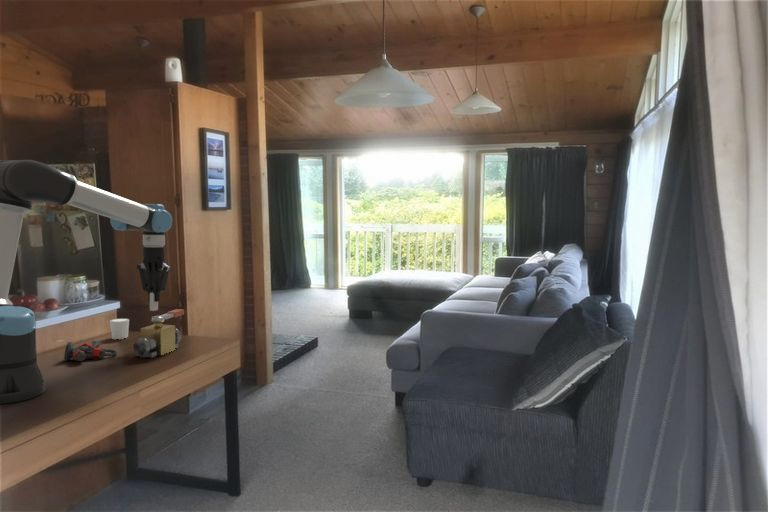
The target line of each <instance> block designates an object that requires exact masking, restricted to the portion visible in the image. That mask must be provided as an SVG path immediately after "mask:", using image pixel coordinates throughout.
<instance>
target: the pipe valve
mask: <svg viewBox="0 0 768 512" xmlns="http://www.w3.org/2000/svg"><path fill="white" fill-rule="evenodd" d="M181 340H182V332H181V331H180V329H178V328H177V327H176V325H172V324H163V322H159V323H154V322H153V324H151V325H146V326H145V327H144V326H143V327H141V328H140V337H139V338H136V340H134V342H133V346H132V349H133V351H134V353H135V354H136V357H137V356H140V357H139V358H145V357H151V358H150V359H154V358H156V357H155V356H157V355H163V356H165V355H167V354H170V353H172V352H175V351H176V349H175V348H177V349H179V342H180V341H181ZM174 350H175V351H174ZM171 351H172V352H171ZM169 352H170V353H169ZM166 353H167V354H166ZM164 354H165V355H164ZM153 357H154V358H153ZM157 357H158V356H157Z"/></svg>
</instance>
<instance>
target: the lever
mask: <svg viewBox="0 0 768 512" xmlns="http://www.w3.org/2000/svg"><path fill="white" fill-rule="evenodd" d="M183 315H185V309H183V308H181V309H180V308H175V309H173V310H170V311H167V312H166V313H164V314H161V315H154V316H151V323H153V324H154V323H159V322H162V323H164V322H165V320H169V319H171V318H177V317H181V316H183Z"/></svg>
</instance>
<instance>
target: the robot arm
mask: <svg viewBox="0 0 768 512" xmlns="http://www.w3.org/2000/svg"><path fill="white" fill-rule="evenodd" d="M34 202H37V203H47V204H53V205H57V206H61V207H64V206H66V205H68V206H71V207H74V208H76V209H77V208H78V209H81V210H84V211H85V212H90V213H93V214H96V215H99V216H102V217H106V218H109V220H110V221H109V222H110V225H111V228H113V230H116V231H122V232H123V231H124V232H125V231H133V232H134V231H136V232H142V245H143V247H142V257H143V259H142V262H141V263H140V264H137V265H136V269H138V272H139V275H140V281H141V285H142V290H143V291H145V292H147V296H148V298H147V300H148V302H149V311H150V312H151V311H152V312H154V311H158V310H159V302H160V299H161V298H160V297H161V296H160V293H162V292H164V291H165V289H166V286H167V280H168V277H169V272H170V270H171V268H172V266H171V265H167V263H166V261H165V257H166V248H165V246H166V233H167V232H168V231H169V230H170V229H171V228H172V225H173V217H172V214H171V213H170V212H169V211H167V210H166V209H165V205H163V204H161V203H160V204H159V203H156V204H155V203H144V204H142V203H140V202H139V203H138V202H137V201H133V200H131V199H128V198H126V197H123V196H120V195H117V194H115V193H111V192H110V191H106V190H104V189H101V188H98V187H96V186H93V185H92V184H91V185H90V184H88V183H84V182H82V181H80V180H77V178H76V177H75V175H74V174H71V173H69V172H65V171H63V170H61V169H58V168H56V167H53V166H51V165H48V164H47V163H43V162H40V161H37V160H32V159H21V160H20V159H17V160H16V159H14V160H11V159H2V160H0V405H3V404H12V403H17V402H23V401H27V400H31V399H34V398H37V397H38V396H40V395H42V394H43V393H45V391H46V382H45V380H44V377H43V375H42V372H41V370H40V368H39V365H38V363H37V362H38V361H37V360H38V359H37V328H36V327H37V323H36V318H35V313H34V311H33V310H32V309H30V308H29V307H28V308H27V307H24V306H19V305H18V306H17V305H16V306H14V304H13V302H12V301H11V300H10V298H9V292H10V287H11V283H12V277H13V272H14V267H15V262H16V258H17V257H16V256H17V251H18V247H19V241H20V236H21V231H22V226H23V221H24V216H25V215H27V214H29V213H30V212H31V211H32V207H33V203H34Z"/></svg>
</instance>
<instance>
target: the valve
mask: <svg viewBox="0 0 768 512" xmlns="http://www.w3.org/2000/svg"><path fill="white" fill-rule="evenodd" d="M101 343H102V342H101V340H98V341H97V340H95V339H94V340H92V341H91V342H90V343H88V342H85V343H83V344H80V345H79V346H74V345H73V342H72V341H68V342H67V344H66V346H65V348H64V349H65V350H64V355H63V356H64V357H63V360H64V362H68V361H70V360H71V359H72V358H73V360H74V361H76V362H83V361H85V359H90V360H92V361H95V360H102V359H104V358H105V357H113V356H116V355H117V354H118V352H117V351H116V350H114V349H110V348H101V347H98V346H99V345H100V344H101Z"/></svg>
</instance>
